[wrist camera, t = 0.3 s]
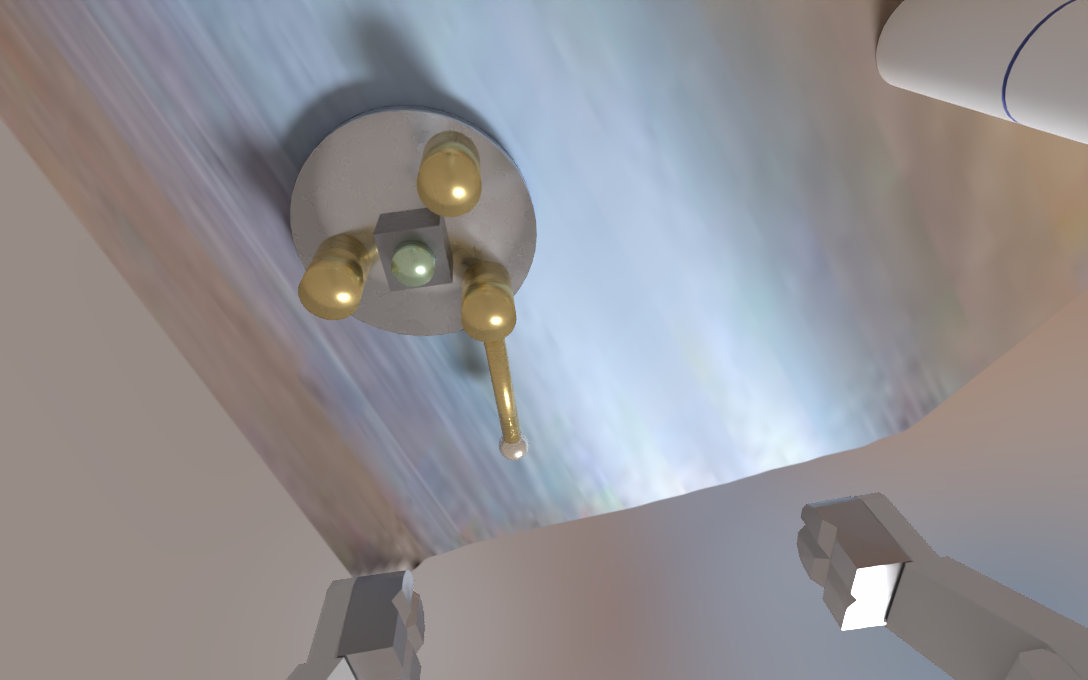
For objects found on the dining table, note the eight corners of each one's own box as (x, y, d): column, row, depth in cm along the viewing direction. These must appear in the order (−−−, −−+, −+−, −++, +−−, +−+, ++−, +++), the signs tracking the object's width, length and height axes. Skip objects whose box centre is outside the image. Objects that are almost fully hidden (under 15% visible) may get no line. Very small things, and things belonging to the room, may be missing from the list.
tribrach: (256, 123, 40) (216, 155, 34) (519, 89, 41) (529, 114, 35) (340, 337, 52) (322, 391, 46) (544, 308, 53) (555, 357, 47)
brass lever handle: (457, 264, 47) (456, 300, 42) (507, 257, 47) (512, 292, 42) (492, 429, 58) (495, 472, 54) (532, 423, 59) (538, 465, 54)
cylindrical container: (875, 8, 41) (1274, 59, 21) (971, -34, 40) (1488, -24, 20) (876, 101, 45) (1210, 220, 25) (963, 64, 44) (1385, 156, 24)
